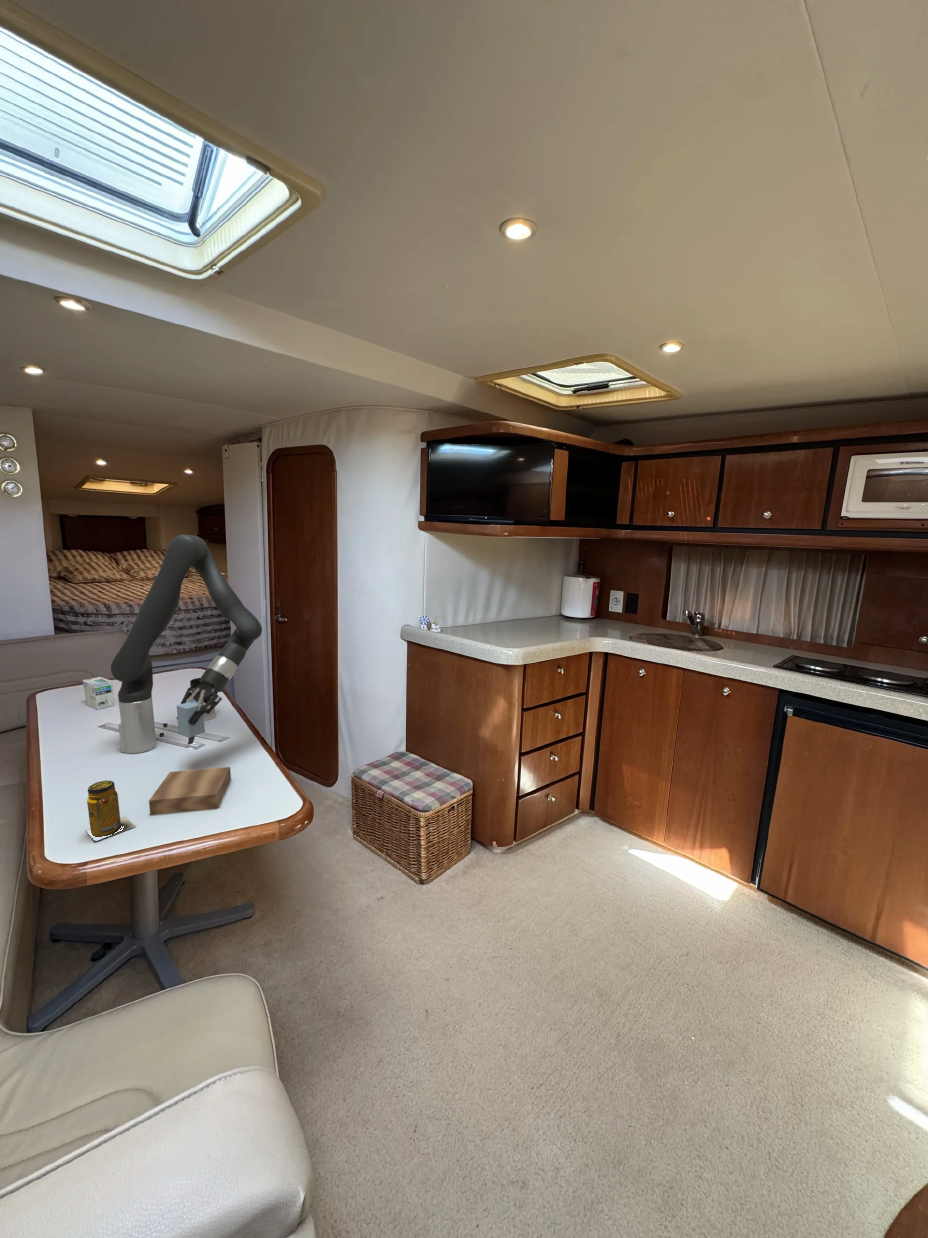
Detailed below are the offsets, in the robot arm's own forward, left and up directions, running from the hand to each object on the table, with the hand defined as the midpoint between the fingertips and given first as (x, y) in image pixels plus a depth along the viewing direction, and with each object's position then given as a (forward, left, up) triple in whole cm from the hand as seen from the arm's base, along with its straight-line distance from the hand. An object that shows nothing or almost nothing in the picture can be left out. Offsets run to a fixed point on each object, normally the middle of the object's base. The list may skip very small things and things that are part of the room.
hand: (185, 722), depth 152 cm
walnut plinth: (+5, -16, -16) cm, 23 cm away
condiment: (-10, -29, -16) cm, 34 cm away
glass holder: (-9, +45, -16) cm, 49 cm away
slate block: (+1, +1, -4) cm, 5 cm away
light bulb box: (-53, +70, -16) cm, 89 cm away
